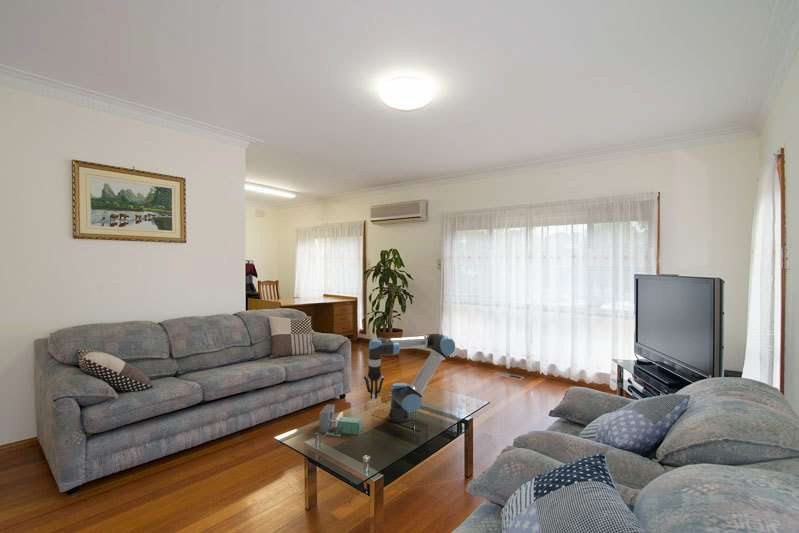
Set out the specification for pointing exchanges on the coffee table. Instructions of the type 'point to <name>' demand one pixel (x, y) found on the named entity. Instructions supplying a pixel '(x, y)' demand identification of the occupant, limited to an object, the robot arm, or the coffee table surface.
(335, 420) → the plunger
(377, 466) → the coffee table surface
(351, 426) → the box
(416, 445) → the coffee table surface
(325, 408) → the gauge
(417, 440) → the coffee table surface
